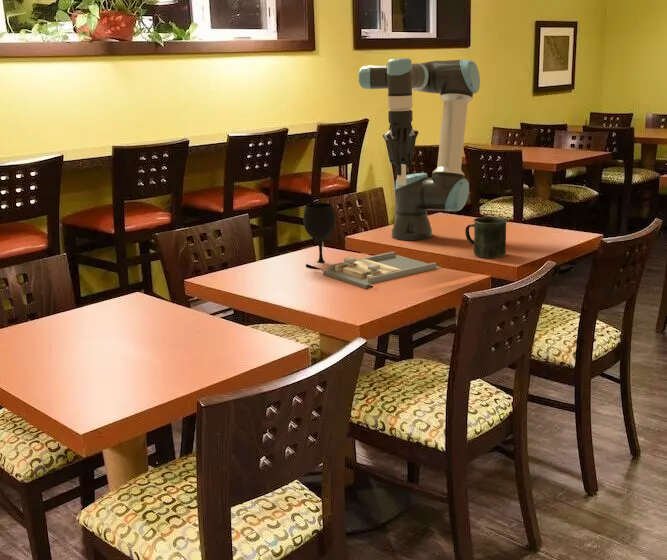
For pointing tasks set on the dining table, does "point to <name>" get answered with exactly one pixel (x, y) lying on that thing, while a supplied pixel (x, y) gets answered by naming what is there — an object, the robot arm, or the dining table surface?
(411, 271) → the board
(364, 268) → the panel
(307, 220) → the wine glass
